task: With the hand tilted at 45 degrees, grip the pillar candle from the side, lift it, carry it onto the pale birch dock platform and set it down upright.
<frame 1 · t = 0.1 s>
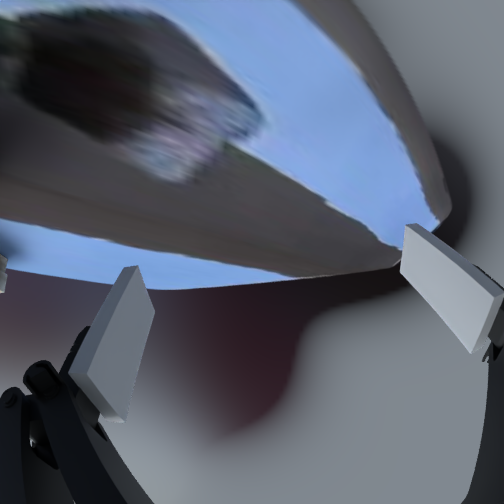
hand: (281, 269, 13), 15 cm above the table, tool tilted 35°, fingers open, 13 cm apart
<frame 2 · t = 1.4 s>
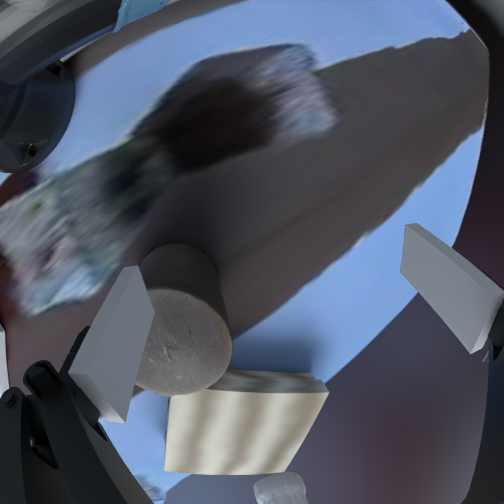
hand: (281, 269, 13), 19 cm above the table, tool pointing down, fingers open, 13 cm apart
pillar candle: (176, 283, 32), on the table
decorative vase: (276, 481, 47), on the table
birch dock: (233, 413, 39), on the table
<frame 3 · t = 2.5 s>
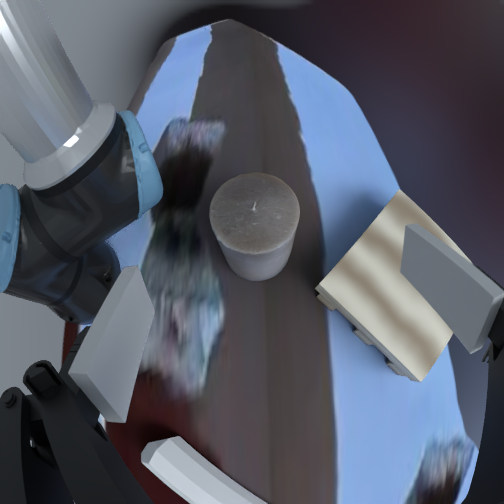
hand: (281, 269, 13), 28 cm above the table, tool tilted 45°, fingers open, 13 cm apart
pillar candle: (256, 251, 43), on the table
white octagonal bar: (213, 487, 31), on the table
birch dock: (397, 288, 40), on the table
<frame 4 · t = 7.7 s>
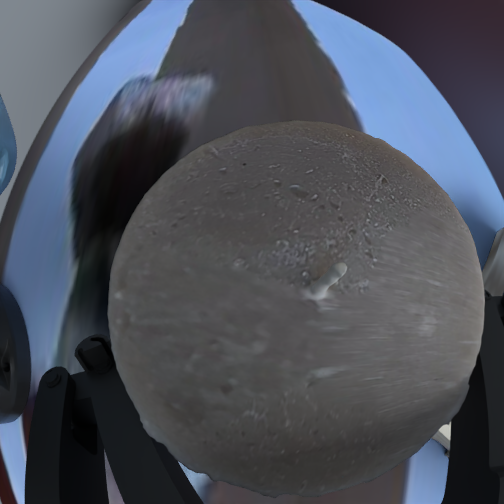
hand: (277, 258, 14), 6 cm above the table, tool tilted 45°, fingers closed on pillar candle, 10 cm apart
pillar candle: (280, 329, 19), on the table, touching gripper
when the fingers open (13 cm above the table, at t = 15.5 s): pillar candle drops 1 cm, resting on birch dock.
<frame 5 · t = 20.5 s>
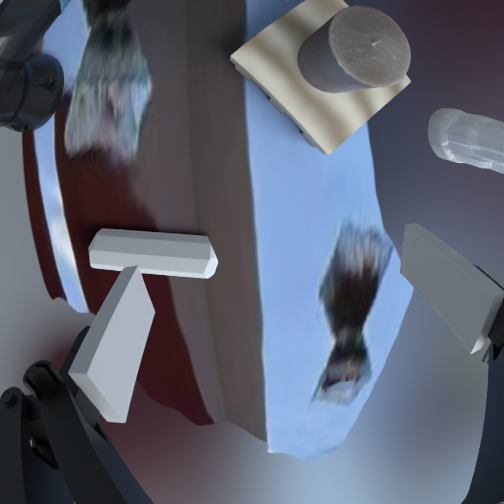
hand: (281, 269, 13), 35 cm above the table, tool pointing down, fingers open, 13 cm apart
pillar candle: (329, 64, 33), point 6 cm above the table, touching birch dock
decorative vase: (445, 133, 43), on the table
white octagonal bar: (153, 248, 50), on the table
birch dock: (318, 69, 38), on the table
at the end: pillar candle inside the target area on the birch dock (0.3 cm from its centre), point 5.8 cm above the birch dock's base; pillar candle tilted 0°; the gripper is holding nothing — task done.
